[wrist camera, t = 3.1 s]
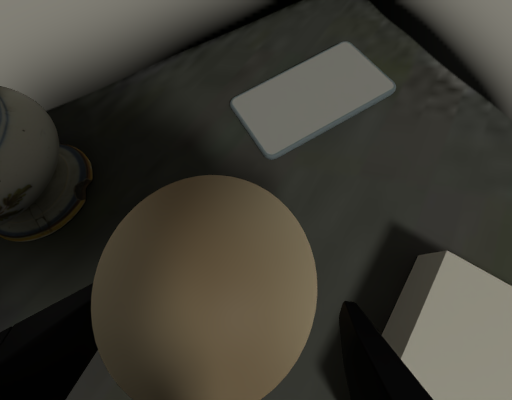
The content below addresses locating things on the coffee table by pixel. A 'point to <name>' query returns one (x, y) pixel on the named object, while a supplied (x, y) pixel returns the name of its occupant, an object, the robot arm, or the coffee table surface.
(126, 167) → the coffee table surface
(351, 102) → the smartphone
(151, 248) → the birch pillar
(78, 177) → the apothecary jar
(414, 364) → the cream plinth
